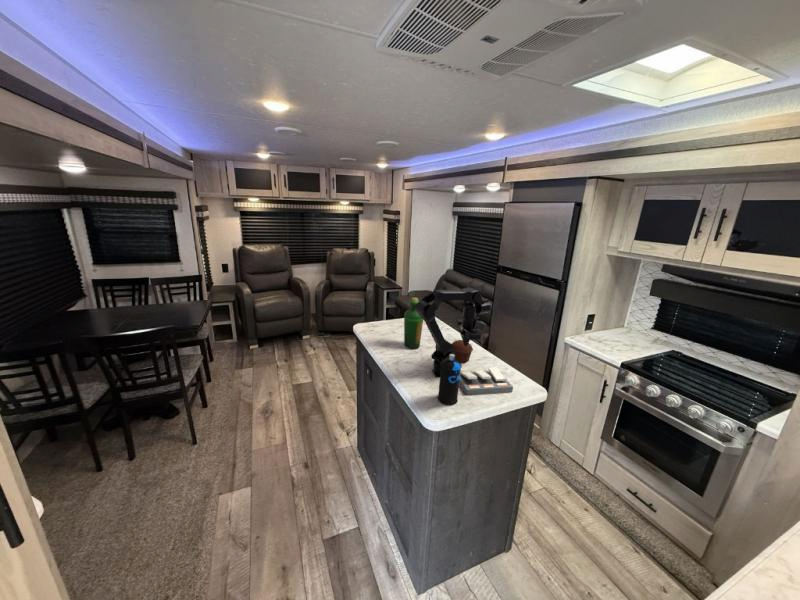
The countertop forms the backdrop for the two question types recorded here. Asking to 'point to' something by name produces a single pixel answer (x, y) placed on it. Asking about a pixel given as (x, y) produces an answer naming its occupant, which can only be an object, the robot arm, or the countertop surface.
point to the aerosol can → (449, 381)
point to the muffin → (462, 351)
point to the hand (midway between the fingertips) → (465, 345)
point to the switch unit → (484, 385)
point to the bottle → (412, 326)
